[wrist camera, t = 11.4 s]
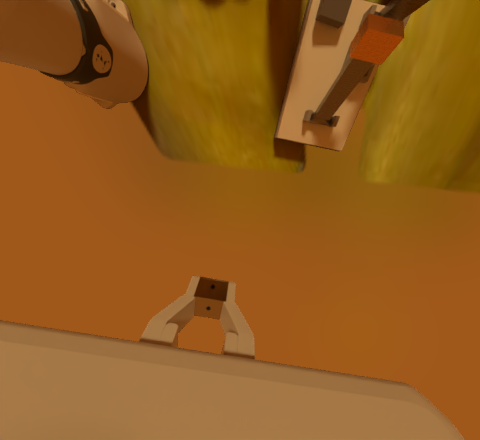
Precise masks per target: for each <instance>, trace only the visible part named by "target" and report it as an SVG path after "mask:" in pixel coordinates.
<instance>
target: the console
mask: <svg viewBox="0 0 480 440" xmlns="http://www.w3.org/2000/svg"><path fill="white" fill-rule="evenodd" d="M319 4H320V0H309V1H308V3H307V7H306V11H305V15H304V19H303V23H302V27H301V31H300V35H299V39H298V43H297V47H296V51H295V54H294V58H293V62H292V66H291V70H290V74H289V78H288V82H287V86H286V90H285V94H284V98H283V102H282V106H281V110H280V114H279V118H278V122H277V126H276V130H275V134H274V138H278V139H282V140H287V141H292V142H297V143H301V144H306V145H311V146H316V147H320V148H325V149H330V150H335V151H339V150H340V151H342V149H343V147H344V145H345V143H346V140H347V138H348V135H349V133H350V131H351V129H352V126H353V124H354V122H355V119H356V117H357V115H358V112H359V110H360V108H361V105H362V103H363V101H364V99H365V96H366V94H367V92H368V89H369V87H370V85H371V82H372V80H373V78H374V75H375V73H376V71H377V68H378V66H379V64H374V65H373V66H371V68H370V69H369V70H368V71H367V73H366V74H365V75H364V76H363V78H362V79H361V80H360V82H359V83H358V84H357V85H356V87H355V88H354V89H353V91H352V92H351V93H350V94H349V96H348V97H347V98H346V100H345V101H344V102H343V103H342V105H341V106H340V107H339V108H338V110H337V111H336V112H335V114H334V115H333V116H332V121H331V123H330V125H329V126H326V125H321V124H316V123H312V122H308V121H310V118H311V114H312V112H315V111H316V110H317V108H318V106H319V105H320V103H321V102H322V100H323V98H324V97H325V95H326V94H327V92H328V91H329V89H330V87H331V86H332V84H333V83H334V81H335V79H336V78H337V76H338V75H339V73H340V72H341V70H342V68H343V67H344V65H345V64H346V62H347V60H348V59H349V57H350V45H351V42H352V40H353V39H354V37H355V35H356V34H357V32H358V30H359V28H360V27H361V25H362V23H363V22H364V20H365V18H366V17H367V15H368V13H370V14H374V13H375V11H377V12H380V11H381V10H382V9H383V8H384V7H385V6H383V5H379V4H375V3H371V2H367V1H363V0H352V3H351V6H350V9H349V12H348V15H347V18H346V21H345V24H344V25H342V26H341V27H340V28H336V27H333V26H330V25H327V24H325V23H322V22H319V21H317V20H315V18H316V15H317V11H318V7H319ZM410 15H411V14H410ZM410 15H409V16H407V17H406V18H405V19H403V20H402V21H403V22H404V28H405V26H406V24H407V21H408V19H409V17H410Z"/></svg>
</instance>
